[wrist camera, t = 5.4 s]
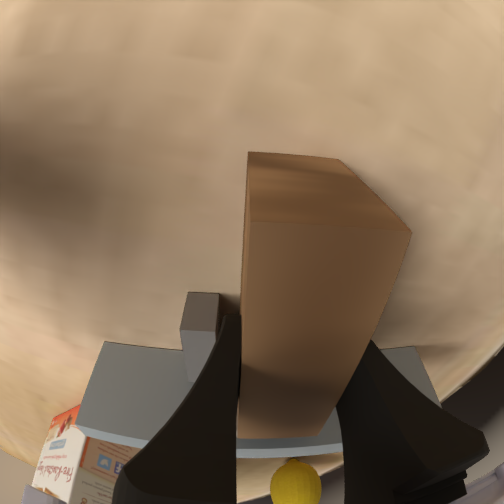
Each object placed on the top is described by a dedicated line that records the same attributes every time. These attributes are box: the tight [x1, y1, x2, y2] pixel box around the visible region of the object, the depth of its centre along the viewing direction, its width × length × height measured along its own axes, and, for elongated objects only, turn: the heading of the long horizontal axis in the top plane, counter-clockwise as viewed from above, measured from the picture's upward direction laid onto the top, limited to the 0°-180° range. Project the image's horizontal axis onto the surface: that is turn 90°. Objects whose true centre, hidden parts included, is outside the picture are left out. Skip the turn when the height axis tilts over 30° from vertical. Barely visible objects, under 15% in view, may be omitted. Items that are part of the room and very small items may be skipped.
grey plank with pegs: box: [75, 292, 442, 458], centre depth 13 cm, size 20×6×6 cm, turn 87°
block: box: [236, 152, 412, 439], centre depth 11 cm, size 4×10×6 cm, turn 177°
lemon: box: [270, 458, 321, 504], centre depth 24 cm, size 6×6×8 cm
